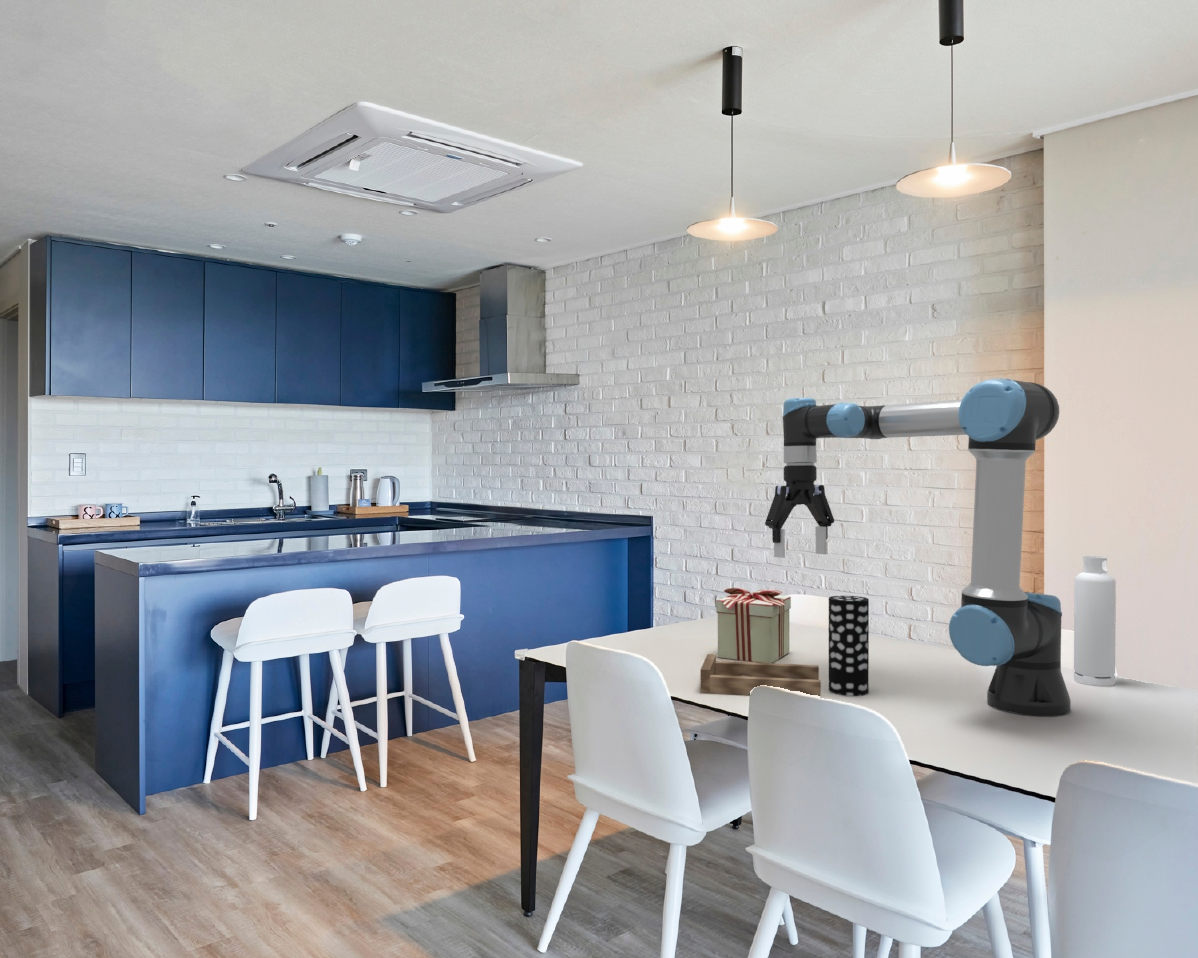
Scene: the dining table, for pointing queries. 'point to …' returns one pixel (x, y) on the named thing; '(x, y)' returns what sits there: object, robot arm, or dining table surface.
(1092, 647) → the bottle
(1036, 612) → the robot arm
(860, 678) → the spotted tube
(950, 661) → the dining table surface
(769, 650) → the gift box
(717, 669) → the cradle
